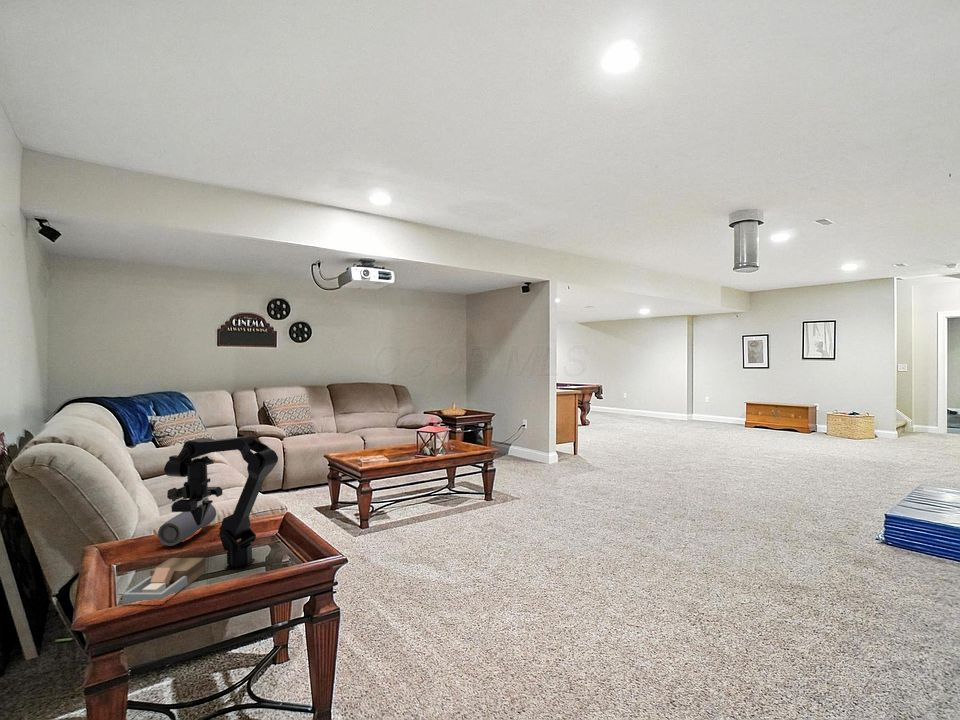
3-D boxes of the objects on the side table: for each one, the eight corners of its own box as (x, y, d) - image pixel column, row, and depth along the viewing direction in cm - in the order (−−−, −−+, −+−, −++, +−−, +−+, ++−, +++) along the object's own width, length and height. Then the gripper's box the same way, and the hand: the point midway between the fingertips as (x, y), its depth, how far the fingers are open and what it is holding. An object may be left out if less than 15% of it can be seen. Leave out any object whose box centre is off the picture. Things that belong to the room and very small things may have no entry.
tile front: (156, 589, 138) (156, 598, 138) (165, 582, 142) (166, 591, 142) (142, 589, 139) (142, 598, 139) (152, 582, 143) (152, 591, 143)
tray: (187, 585, 147) (187, 575, 146) (162, 605, 136) (161, 594, 136) (150, 585, 147) (150, 575, 147) (122, 605, 136) (122, 594, 136)
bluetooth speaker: (183, 549, 174) (181, 521, 174) (156, 549, 174) (155, 521, 174) (218, 526, 197) (217, 500, 196) (195, 526, 197) (194, 501, 197)
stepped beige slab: (205, 572, 156) (204, 557, 155) (187, 585, 147) (186, 570, 146) (170, 572, 156) (170, 557, 156) (150, 585, 147) (150, 570, 147)
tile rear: (174, 571, 147) (170, 567, 145) (168, 585, 144) (163, 582, 142) (160, 571, 147) (156, 567, 145) (154, 585, 144) (150, 582, 142)
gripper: (191, 470, 173) (192, 515, 173) (153, 485, 154) (155, 535, 154) (222, 470, 172) (224, 515, 173) (188, 485, 154) (190, 535, 154)
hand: (199, 524), depth 163 cm, fingers closed
